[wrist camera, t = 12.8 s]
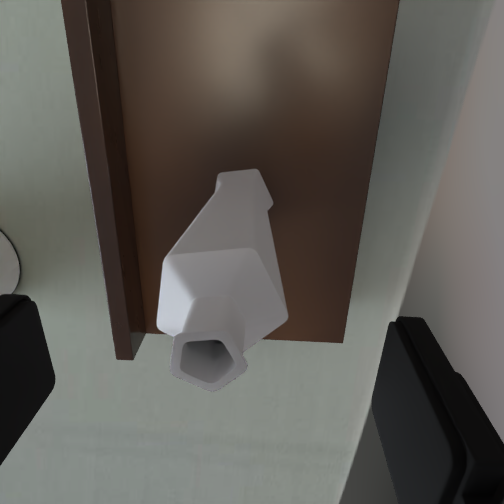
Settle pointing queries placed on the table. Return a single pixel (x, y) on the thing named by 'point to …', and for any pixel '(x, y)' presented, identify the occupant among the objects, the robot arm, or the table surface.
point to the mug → (8, 266)
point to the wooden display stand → (229, 138)
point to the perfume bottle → (222, 283)
